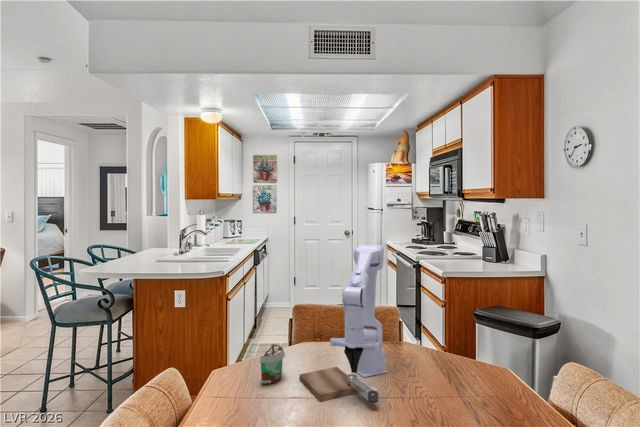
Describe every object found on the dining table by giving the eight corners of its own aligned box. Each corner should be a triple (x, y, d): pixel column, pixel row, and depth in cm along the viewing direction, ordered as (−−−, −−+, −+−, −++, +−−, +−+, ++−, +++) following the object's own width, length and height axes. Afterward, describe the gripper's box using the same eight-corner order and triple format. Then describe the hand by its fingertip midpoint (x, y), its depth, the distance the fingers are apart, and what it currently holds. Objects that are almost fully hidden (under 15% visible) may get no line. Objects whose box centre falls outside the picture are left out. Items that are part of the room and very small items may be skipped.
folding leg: (345, 382, 130) (345, 375, 130) (353, 380, 131) (353, 373, 131) (371, 404, 117) (371, 395, 116) (380, 401, 118) (380, 393, 118)
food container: (278, 389, 131) (278, 357, 130) (260, 387, 132) (259, 356, 132) (289, 372, 143) (289, 344, 142) (272, 371, 144) (272, 343, 144)
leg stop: (372, 399, 124) (372, 386, 124) (378, 403, 121) (378, 390, 121) (369, 400, 123) (369, 386, 123) (374, 404, 121) (374, 391, 121)
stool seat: (336, 372, 143) (336, 366, 143) (360, 391, 128) (360, 385, 128) (299, 380, 137) (299, 374, 137) (320, 401, 122) (320, 395, 122)
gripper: (327, 328, 121) (327, 374, 122) (376, 333, 117) (376, 380, 117) (333, 321, 128) (333, 364, 128) (380, 325, 124) (380, 370, 124)
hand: (354, 371), depth 123 cm, fingers closed
